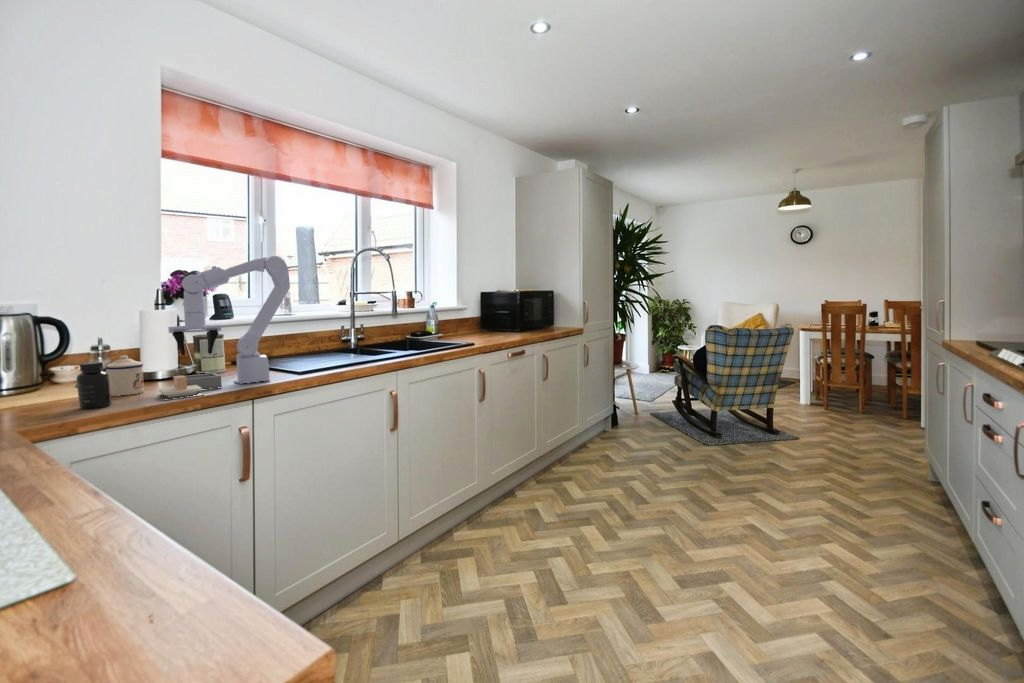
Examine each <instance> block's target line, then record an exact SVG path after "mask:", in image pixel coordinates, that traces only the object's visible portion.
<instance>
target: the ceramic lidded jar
mask: <svg viewBox="0 0 1024 683" xmlns="http://www.w3.org/2000/svg"><path fill="white" fill-rule="evenodd" d="M105 366H106V367H105V369H106V373H107V374H108V375H109V383H110V392H111V397H120V396H119V395H129V396H131V395H130V394H136V395H138V394H137V393H140V394H142V392H143V393H144V392H145V384H144V374H143V373H144V371H143V367H144V364H143V362H141V361H136V360H134V359H133V358H129V356H128V355H127V354H126V355H125V354H124V355H120V356H119V359H116V360H114V361H113V362H111V363H108V364H106V365H105Z"/></svg>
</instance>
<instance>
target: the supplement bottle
mask: <svg viewBox="0 0 1024 683" xmlns="http://www.w3.org/2000/svg"><path fill="white" fill-rule="evenodd" d="M79 368H80V369H79V370H80V373H79V374H78V375H77V376H76V385H77V386H76V387H77V394H78V396H77V397H78V404H79V409H81V410H95V408H98V409H102V407H103V408H107V407H110V406H111V405H112V396H111V392H110V383H109V375H108V374H107V371H103V370H104V369H105V368H104V363H103V361H92V362H91V361H90V362H83V363H80V364H79ZM109 405H110V406H109ZM106 406H107V407H106Z"/></svg>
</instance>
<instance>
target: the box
mask: <svg viewBox="0 0 1024 683" xmlns="http://www.w3.org/2000/svg"><path fill="white" fill-rule="evenodd" d="M184 376H185V377H186V381H187V386H189V385H198V386H199V387H201V388H202V389H209V388H218V387H222V376H221V374H218V373H205V374H200V373H198V374H192V375H184ZM222 388H223V387H222Z"/></svg>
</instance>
